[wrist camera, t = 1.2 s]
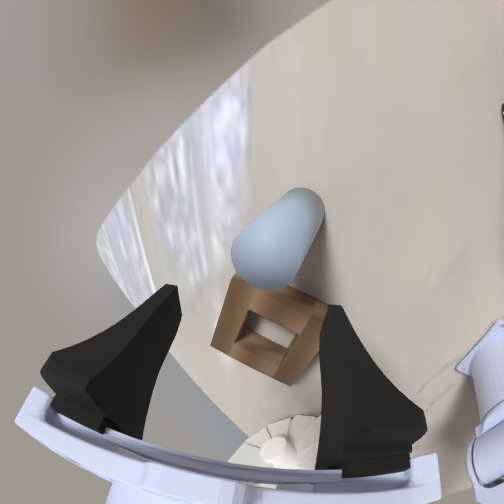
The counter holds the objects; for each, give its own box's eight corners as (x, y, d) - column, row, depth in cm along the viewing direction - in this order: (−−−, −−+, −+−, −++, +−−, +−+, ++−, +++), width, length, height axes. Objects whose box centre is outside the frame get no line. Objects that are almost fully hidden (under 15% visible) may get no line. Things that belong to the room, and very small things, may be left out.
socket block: (338, 309, 27) (334, 328, 24) (297, 368, 32) (290, 386, 30) (244, 263, 29) (231, 278, 26) (221, 330, 34) (210, 345, 32)
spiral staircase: (324, 379, 37) (383, 453, 39) (229, 429, 39) (305, 490, 41) (351, 472, 19) (410, 520, 20) (211, 516, 21) (311, 557, 23)
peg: (332, 199, 23) (310, 245, 14) (314, 239, 25) (283, 301, 16) (288, 180, 23) (241, 213, 15) (274, 220, 25) (224, 271, 17)
